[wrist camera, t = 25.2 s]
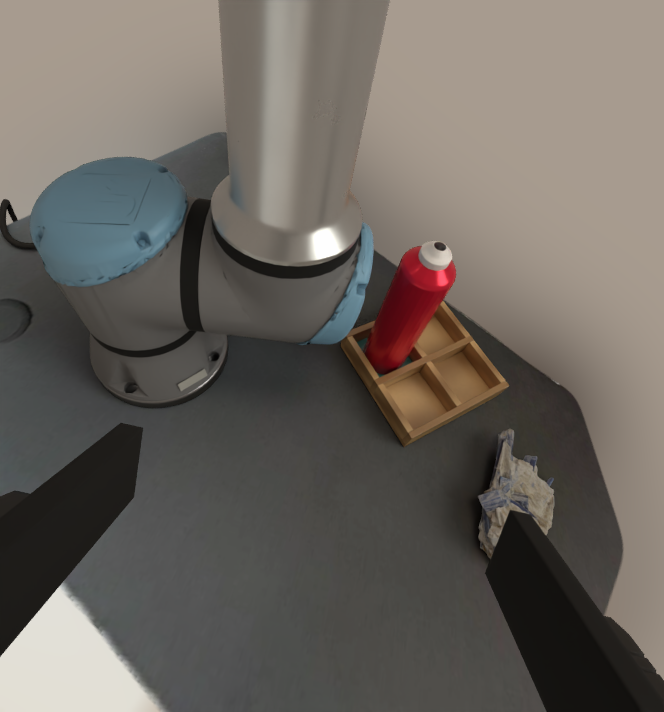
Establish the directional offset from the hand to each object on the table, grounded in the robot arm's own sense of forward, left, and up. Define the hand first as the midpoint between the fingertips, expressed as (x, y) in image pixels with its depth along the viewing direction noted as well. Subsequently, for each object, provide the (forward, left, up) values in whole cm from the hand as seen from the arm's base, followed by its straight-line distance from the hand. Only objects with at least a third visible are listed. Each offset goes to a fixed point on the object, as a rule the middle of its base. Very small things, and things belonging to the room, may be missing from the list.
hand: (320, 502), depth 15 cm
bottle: (-15, +22, -31) cm, 41 cm away
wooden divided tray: (-12, +26, -31) cm, 42 cm away
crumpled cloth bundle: (+7, +25, -32) cm, 41 cm away
